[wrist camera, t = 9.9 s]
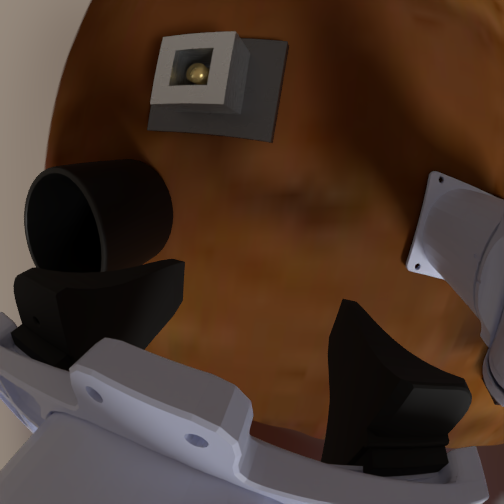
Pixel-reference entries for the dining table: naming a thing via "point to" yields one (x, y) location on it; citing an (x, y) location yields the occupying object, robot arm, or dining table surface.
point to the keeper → (254, 101)
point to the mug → (97, 216)
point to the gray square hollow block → (219, 80)
